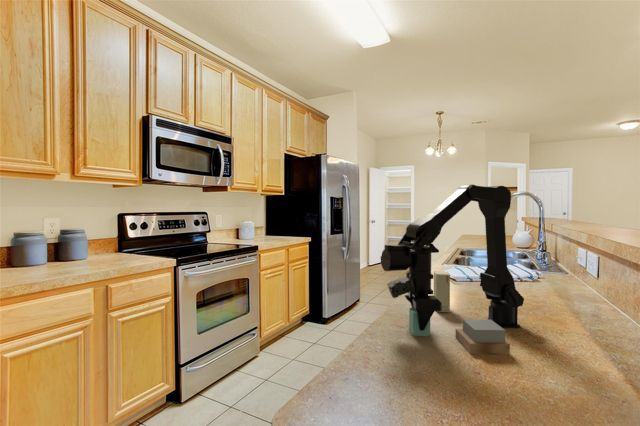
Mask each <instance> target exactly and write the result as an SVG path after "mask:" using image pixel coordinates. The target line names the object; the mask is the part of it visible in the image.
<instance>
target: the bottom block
mask: <svg viewBox="0 0 640 426" xmlns="http://www.w3.org/2000/svg"><path fill="white" fill-rule="evenodd" d="M455 340H457V342H458V343H459V344H460V345H461V346H462V347H463V348H464V350H465V351H467V353H469V355H491V356H492V355H494V356H495V355H498V356H499V355H503V356H509V355H510V354H511V352H510V350H511V347H510V346H511V345H510V343H509V342H507V341H506V340H505V343H476V342H473V341H472V340H471V339H470V338H469V337H468V336H467V335H466V334H465V333H464V332H463V328H455Z"/></svg>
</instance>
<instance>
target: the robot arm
mask: <svg viewBox="0 0 640 426" xmlns="http://www.w3.org/2000/svg"><path fill="white" fill-rule="evenodd" d="M511 192H512V191H511V190H510V189H508V187H507V186H504V185H493V186H483V185H482V186H481V185H475V184H464V185H461V186H458V188H457V190H456V191H455V192H453V194H451V195H450V196H448V198H447V199H445V200H444V201H443V202H442V203H440V204H439V206H437V207H436V208H435V209H433V211H431V212H430V213H428V214H426V215H424V216H422V217H420V218H418V219H416V220H414V221H412V222H410V223H409V224H408V225H407V226H406V229H405V230H406V231H405V233H404V235H403V236H402V238H401V239H400V240H399V242H397V244H396V245H395V244H394V245H393V244H392V245H391V244H384V249H383V250H382V253H381V256H380V264H381V268H382V270H384V271H385V272H394V271H396V272H397V271H398V272H399V271H406V272H405V277H401V278H398V279H394V280H391V281H389V282H387V284H386V285H387V288H388V291H389V293H390V296H391V297H392V298H394V299H395V298H398V297H399V296H402V295H404V297H405V299H406V300H407V301H408V302H409V303H410V306H411V307H410V308H414V309H415V310H416V311H417V317H418V324H419V329H420V330H422V331H423V330H424V329H425V328H426V326H427V324H428V322H429V320H430V321H431V318H432V316H433V315H434V313H435V312H436V311H442V303H441V302H440V301H439V300H438V299H437V298H436V297H435V296H434V289H432V280H434V273H432V253H433V254H434V253H435V254H436V253H439V252H440V249H438V248H437V247H436V246H435V245H434V244H433V243H434V242H435V240H436V239H437V238H438V237H439V236H440V234H441V232H442V229H443V227H444V226H445V225H446V224H447V223H448V222H449V221H450V220H452V218H454V217H455V216H456V215H457V214H458V213H459V212H460V211H462V210H463V209H464V208H465V207H466V206H467V205H468V204H470V203H471V202H477V204H478V208H479V210H480V212H481V214H482V215H483V217H484V219H485V236H486V237H485V241H486V242H485V243H486V258H487V259H486V260H487V267H486V269H485V271H484V272H480V273H479V278H480V279H479V280H480V284H479V286H480V287H481V288H482V291H483V292H484V294H485V296H486V299H487V300H490V305H488V317H487V320H492V321H494V322H495V323H496V324H498V325H499V326H500V327H502V328H521V327H522V326H521V325H520V324H519V323H518V316H519V315H518V314H519V313H518V311H519V310H518V308H519V307H523V305H524V301H525V298H524V297H523V296H522V294H521V293H520V292H519V291H518V290H517V289H516V284H515V279H514V276H513V275H512V273H511V272H510V270H509V268H508V258H507V256H508V254H507V240H506V239H507V237H506V215H507V214H508V212H509V210H510V209H511V204H512V202H511V201H512V193H511ZM405 294H406V295H405Z"/></svg>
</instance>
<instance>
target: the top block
mask: <svg viewBox="0 0 640 426" xmlns="http://www.w3.org/2000/svg"><path fill="white" fill-rule="evenodd" d="M462 329H463V332H464V333H465V334H466V335H467V336H468V337H469V338H470V339H471V340H472V341H473V342H476V343H505V341H506V329H504V327H500V326H499V325H498V324H496V323H495V322H494V321H492V320H488V319H471V318H469V319H467V318H466V319H462Z"/></svg>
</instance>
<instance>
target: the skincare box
mask: <svg viewBox="0 0 640 426" xmlns="http://www.w3.org/2000/svg"><path fill="white" fill-rule="evenodd" d="M450 295H451V275H450V273H449V272H448V271H444V270H443V271H441V270H433V296H435V297H436V298H437V299H438V300H439V301H440V302H441V303H442V311H435V312H437V313H447V314H448V313H450V311H451V305H450V304H451V303H450V301H451V296H450Z"/></svg>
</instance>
